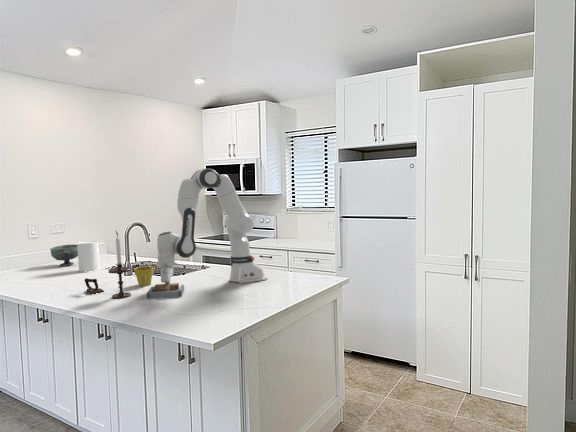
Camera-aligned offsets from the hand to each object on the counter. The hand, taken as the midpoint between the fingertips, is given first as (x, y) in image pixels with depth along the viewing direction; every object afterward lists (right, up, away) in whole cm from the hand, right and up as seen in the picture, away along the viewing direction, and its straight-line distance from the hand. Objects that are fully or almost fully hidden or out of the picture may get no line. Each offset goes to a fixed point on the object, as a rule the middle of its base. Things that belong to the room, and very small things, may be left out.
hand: (167, 287), depth 225 cm
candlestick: (-21, -4, -9) cm, 24 cm away
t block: (+1, -2, -7) cm, 8 cm away
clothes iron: (-42, -4, +2) cm, 42 cm away
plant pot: (-18, -2, +16) cm, 24 cm away
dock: (+2, -2, -8) cm, 9 cm away
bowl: (-104, 0, +91) cm, 138 cm away
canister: (-75, 0, +68) cm, 102 cm away
